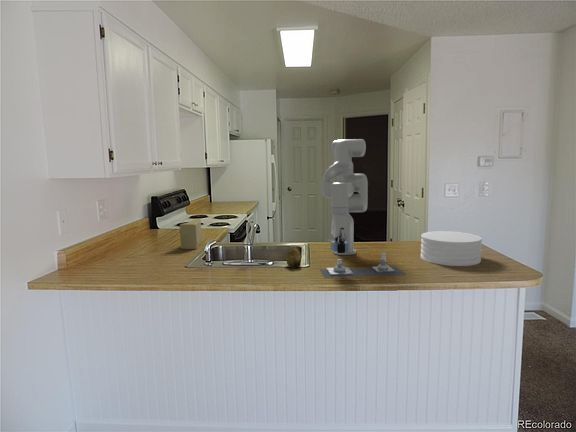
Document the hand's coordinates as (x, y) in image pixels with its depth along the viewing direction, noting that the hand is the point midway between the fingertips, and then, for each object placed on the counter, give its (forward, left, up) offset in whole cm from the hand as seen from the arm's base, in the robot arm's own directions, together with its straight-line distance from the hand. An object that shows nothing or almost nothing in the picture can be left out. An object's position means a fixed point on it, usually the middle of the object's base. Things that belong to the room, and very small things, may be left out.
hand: (339, 250), depth 176 cm
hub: (0, 0, -10) cm, 10 cm away
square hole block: (0, 0, 0) cm, 0 cm away
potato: (-15, -19, -11) cm, 27 cm away
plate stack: (-18, +60, -11) cm, 64 cm away
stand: (0, +20, -10) cm, 22 cm away
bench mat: (+1, +10, -10) cm, 14 cm away
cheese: (-70, -73, -11) cm, 102 cm away
